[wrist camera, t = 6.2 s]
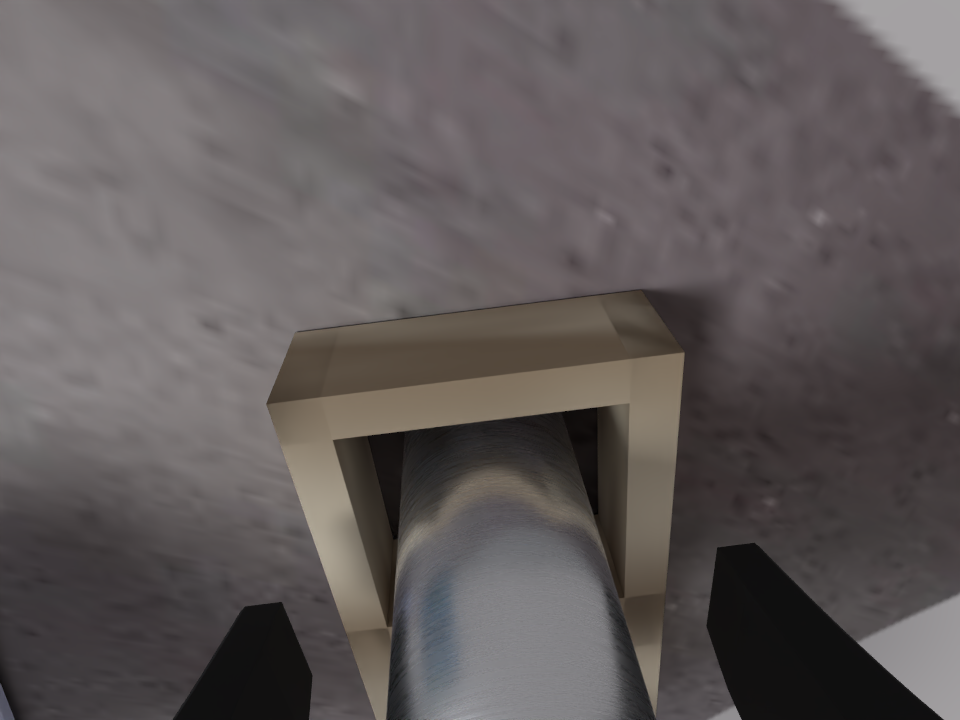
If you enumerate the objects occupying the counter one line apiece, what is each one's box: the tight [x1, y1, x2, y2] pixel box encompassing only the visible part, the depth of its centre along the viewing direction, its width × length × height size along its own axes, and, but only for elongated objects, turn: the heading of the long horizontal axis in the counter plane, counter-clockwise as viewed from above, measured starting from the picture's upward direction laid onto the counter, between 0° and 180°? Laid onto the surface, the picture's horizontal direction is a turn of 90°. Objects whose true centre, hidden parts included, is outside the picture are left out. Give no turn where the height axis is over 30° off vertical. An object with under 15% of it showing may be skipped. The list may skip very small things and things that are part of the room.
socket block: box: [266, 290, 685, 720], centre depth 13 cm, size 14×7×6 cm, turn 6°
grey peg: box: [386, 412, 656, 720], centre depth 11 cm, size 4×4×8 cm
